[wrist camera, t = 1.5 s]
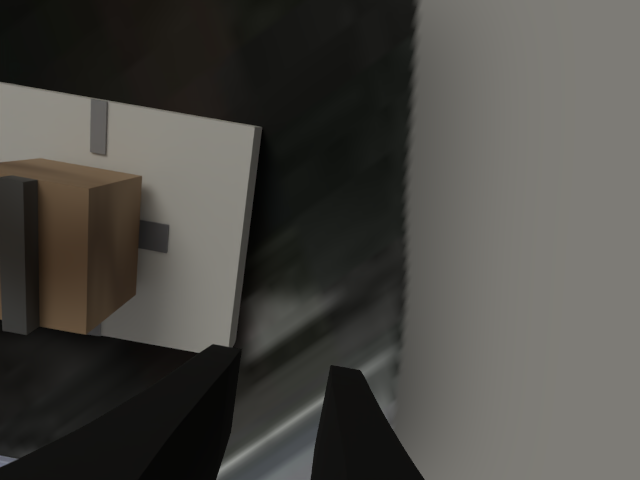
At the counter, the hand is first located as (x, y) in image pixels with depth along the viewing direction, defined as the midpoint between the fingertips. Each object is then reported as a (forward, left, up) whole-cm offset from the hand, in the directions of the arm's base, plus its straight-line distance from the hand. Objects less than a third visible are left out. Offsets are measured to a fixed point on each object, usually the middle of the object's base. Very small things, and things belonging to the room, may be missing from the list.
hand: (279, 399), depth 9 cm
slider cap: (0, +9, -8) cm, 12 cm away
